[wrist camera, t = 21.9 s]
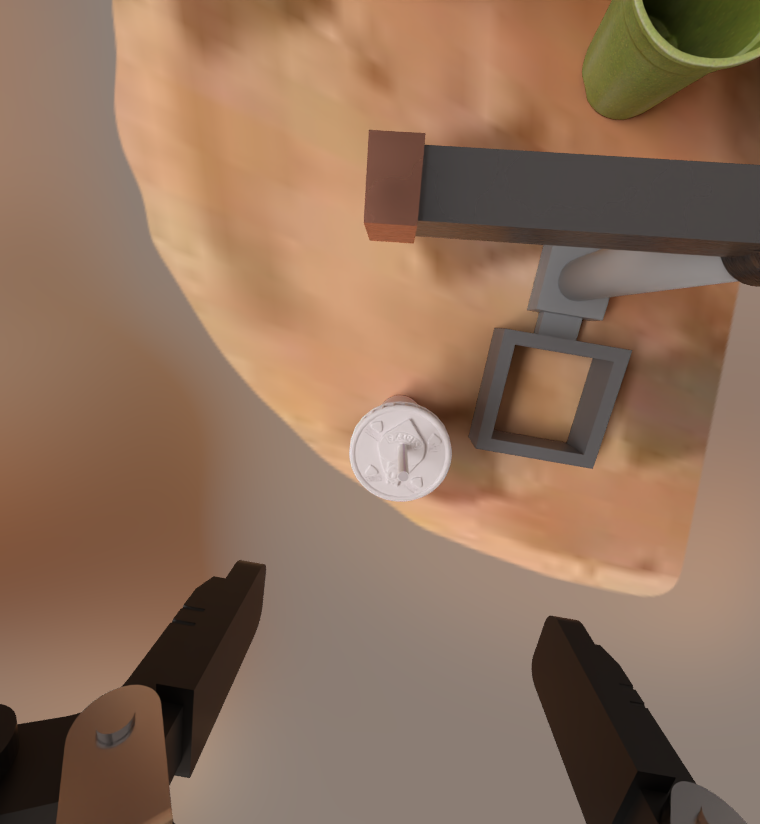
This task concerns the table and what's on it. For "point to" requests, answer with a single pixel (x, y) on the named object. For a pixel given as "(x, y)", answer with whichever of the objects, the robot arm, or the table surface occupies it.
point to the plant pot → (664, 49)
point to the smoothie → (400, 450)
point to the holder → (557, 331)
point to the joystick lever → (563, 200)
